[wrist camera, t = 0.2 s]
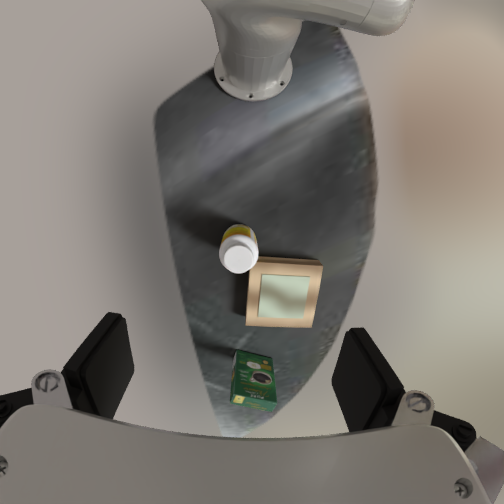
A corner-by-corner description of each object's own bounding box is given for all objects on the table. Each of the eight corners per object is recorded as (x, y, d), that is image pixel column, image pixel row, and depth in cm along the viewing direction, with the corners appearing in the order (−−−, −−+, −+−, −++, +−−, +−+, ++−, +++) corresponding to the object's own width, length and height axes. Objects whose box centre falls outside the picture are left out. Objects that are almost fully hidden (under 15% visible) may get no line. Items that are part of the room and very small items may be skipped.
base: (250, 255, 47) (250, 262, 44) (318, 260, 48) (323, 266, 45) (245, 316, 51) (245, 326, 48) (308, 319, 51) (311, 327, 48)
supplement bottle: (216, 236, 46) (208, 256, 36) (242, 216, 45) (242, 230, 35) (236, 261, 47) (234, 286, 38) (262, 242, 46) (267, 263, 37)
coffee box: (231, 358, 54) (228, 404, 41) (235, 348, 53) (233, 394, 40) (267, 367, 55) (273, 413, 42) (272, 357, 54) (279, 403, 41)
